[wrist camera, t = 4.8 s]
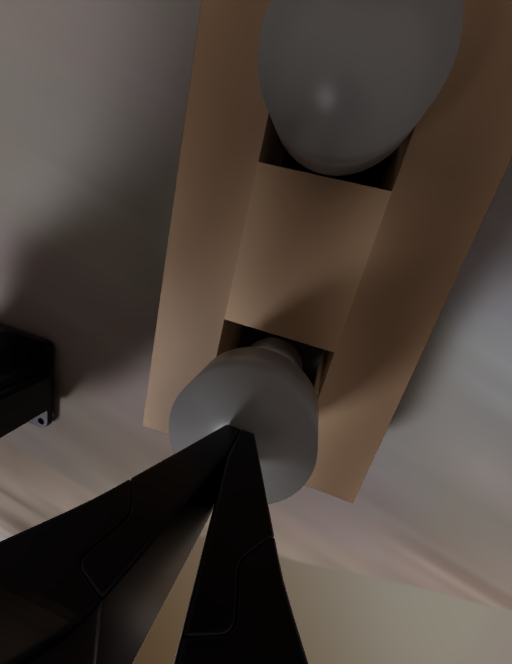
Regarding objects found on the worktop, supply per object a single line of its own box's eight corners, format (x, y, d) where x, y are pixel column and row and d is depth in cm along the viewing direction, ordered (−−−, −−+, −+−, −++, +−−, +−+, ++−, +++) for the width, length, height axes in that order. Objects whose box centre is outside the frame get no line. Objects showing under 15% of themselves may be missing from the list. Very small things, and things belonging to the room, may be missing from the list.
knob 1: (219, 391, 15) (159, 473, 9) (238, 309, 13) (181, 349, 8) (304, 419, 14) (292, 526, 9) (332, 337, 13) (340, 401, 7)
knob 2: (274, 184, 13) (239, 137, 8) (303, 65, 12) (285, -96, 6) (373, 206, 12) (412, 173, 7) (415, 84, 11) (504, -75, 6)
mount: (181, 387, 18) (142, 425, 14) (249, 7, 12) (215, -104, 8) (346, 444, 16) (353, 503, 12) (511, 45, 11) (614, -67, 7)
